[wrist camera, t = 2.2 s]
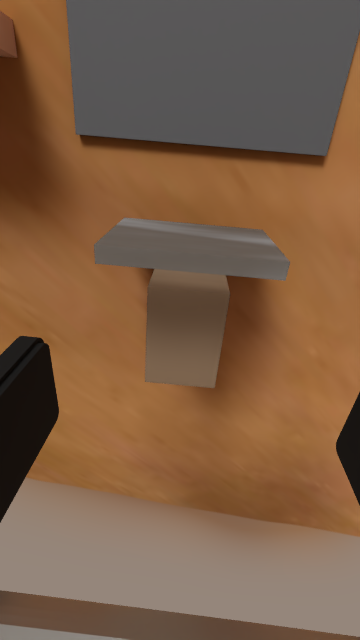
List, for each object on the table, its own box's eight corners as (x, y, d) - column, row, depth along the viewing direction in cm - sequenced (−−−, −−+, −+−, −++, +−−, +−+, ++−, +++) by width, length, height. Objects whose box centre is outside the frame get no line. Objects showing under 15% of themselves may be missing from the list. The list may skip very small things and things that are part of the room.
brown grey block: (242, 297, 22) (272, 393, 13) (131, 287, 22) (87, 376, 13) (256, 222, 20) (305, 279, 11) (131, 211, 20) (77, 259, 11)
